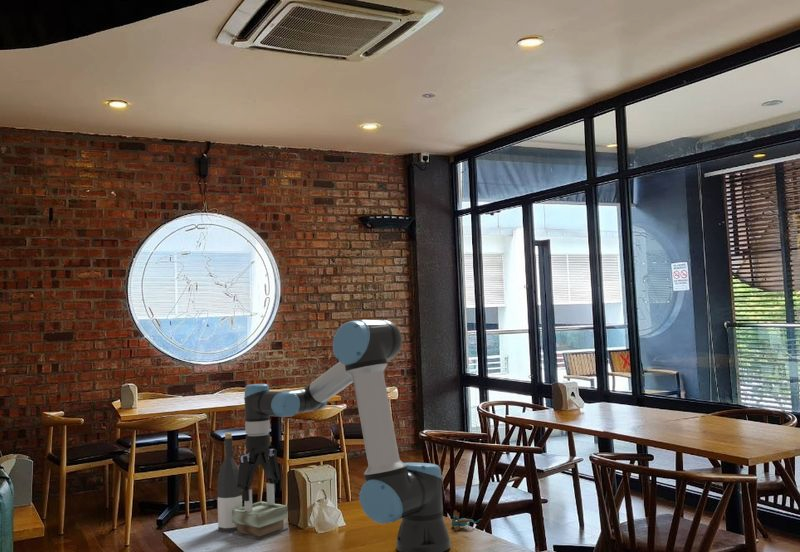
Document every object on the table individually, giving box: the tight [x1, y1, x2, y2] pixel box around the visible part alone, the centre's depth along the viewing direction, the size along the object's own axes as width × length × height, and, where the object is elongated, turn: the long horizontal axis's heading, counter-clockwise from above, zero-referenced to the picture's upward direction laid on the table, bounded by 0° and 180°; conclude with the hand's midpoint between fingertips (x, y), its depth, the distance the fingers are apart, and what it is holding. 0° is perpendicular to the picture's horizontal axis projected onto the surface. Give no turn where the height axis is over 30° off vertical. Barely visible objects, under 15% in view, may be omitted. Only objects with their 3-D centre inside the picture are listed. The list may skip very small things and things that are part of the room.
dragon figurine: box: [450, 509, 483, 532], centre depth 224 cm, size 6×7×8 cm
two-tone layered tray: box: [231, 501, 289, 541], centre depth 228 cm, size 12×12×7 cm
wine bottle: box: [216, 432, 243, 533], centre depth 233 cm, size 8×8×30 cm
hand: (259, 507), depth 228 cm, fingers closed on two-tone layered tray, 9 cm apart
